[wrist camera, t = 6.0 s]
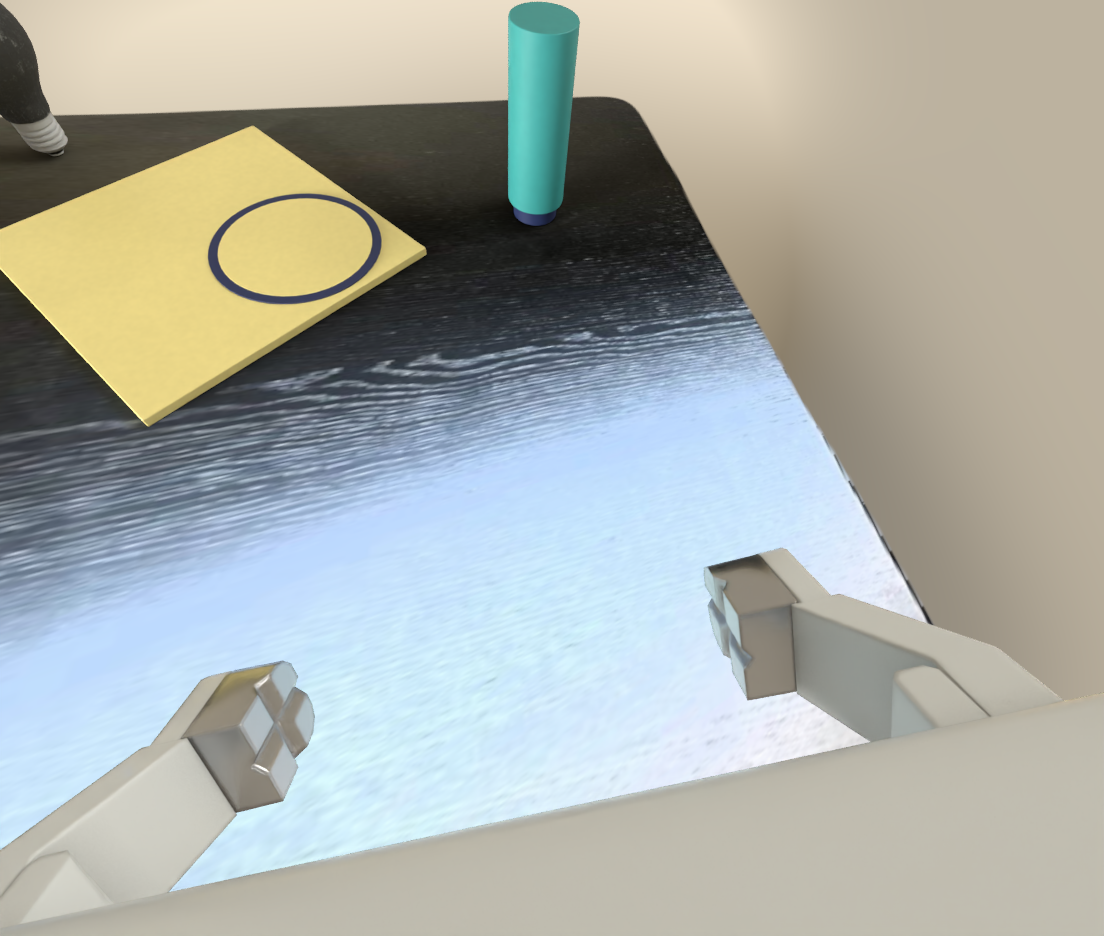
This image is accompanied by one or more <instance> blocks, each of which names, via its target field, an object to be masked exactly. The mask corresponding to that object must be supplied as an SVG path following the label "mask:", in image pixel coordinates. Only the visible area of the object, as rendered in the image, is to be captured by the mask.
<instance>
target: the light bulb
mask: <svg viewBox="0 0 1104 936" xmlns="http://www.w3.org/2000/svg"><path fill="white" fill-rule="evenodd" d="M0 115H1V116H2V117H4V118H5V119H6V120H8V121H9V122H10V123H11V124H12V125H13V126H14V127H15V128H16V129H17V131H18V133H19V134H20V135H21V137H22V138H23V139H24V140H25V142H26V143H27V144H28V145H29V146H30V147H31V148H32V149H34V150H36V151H39V152H43V153H49V155H51V156H59V155H61V154H63V152H64V150H63V148H64V147H65V145H66V144H67V137H66V136H65V135H64V131H63V129H62V128H61V127H60V125H59V124H58V123H57V121H56V119H55V118H54V117H53V115H52V113H51V112H50V108H49V105H48V103H47V101H46V99H45V97H44V95H43V93H42V89H41V85H40V82H39V73H38V64H37V59H36V54H35V51H34V49H33V46H32V43H31V41H30V39H29V38H28V35H27V33H26V32H25V30H24V29H23V27H22V26H21V25H20V23H19V22H18V21H17V19H16V18H15V17H14V16H13V15H12V14H11V13H10V12H9V11H8V10H7V9H6V8H5V7H4V6H3V5H2V4H1V3H0Z"/></svg>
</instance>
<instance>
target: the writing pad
mask: <svg viewBox="0 0 1104 936" xmlns="http://www.w3.org/2000/svg"><path fill="white" fill-rule="evenodd" d="M425 255H426V248H425V247H424V246H422V245H421V244H419V243H418V242H417V241H415V240H414V239H412V238H411V237H409V236H408V235H407V234H405V233H404V232H402V231H401V230H400V229H398V228H397V227H395V226H394V225H393V224H391V223H390V222H388V221H387V220H385V219H384V218H383V217H381V216H380V215H378V214H377V213H376V212H374V211H373V210H371V209H370V208H368V207H367V206H366V205H364V204H363V203H361V202H360V201H359V200H357V199H356V198H354V197H353V196H352V195H350V194H349V193H347V192H346V191H344V190H343V189H342V188H340V187H339V186H337V185H336V184H335V183H333V182H332V181H330V180H329V179H328V178H326V177H325V176H323V175H322V174H320V173H319V172H318V171H316V170H315V169H313V168H312V167H311V166H309V165H308V164H306V163H305V162H304V161H302V160H301V159H299V158H298V157H296V156H295V155H294V154H292V153H291V152H289V151H288V150H287V149H285V148H284V147H282V146H281V145H280V144H278V143H277V142H275V141H274V140H272V139H271V138H270V137H268V136H267V135H265V134H264V133H263V132H261V131H260V130H258V129H257V128H256V127H254V126H251V127H248V128H246V129H243V130H241V131H239V132H236V133H234V134H231V135H229V136H226V137H224V138H222V139H219V140H217V141H214V142H212V143H209V144H207V145H205V146H202V147H200V148H197V149H195V150H192V151H190V152H187V153H185V154H183V155H180V156H178V157H175V158H173V159H170V160H168V161H166V162H163V163H161V164H158V165H156V166H153V167H151V168H149V169H146V170H144V171H141V172H139V173H136V174H134V175H132V176H129V177H127V178H124V179H122V180H119V181H117V182H115V183H112V184H110V185H107V186H105V187H102V188H100V189H98V190H95V191H93V192H90V193H88V194H85V195H83V196H81V197H78V198H76V199H73V200H71V201H68V202H66V203H64V204H61V205H59V206H56V207H54V208H51V209H49V210H47V211H44V212H42V213H39V214H37V215H34V216H32V217H30V218H27V219H25V220H22V221H20V222H17V223H15V224H13V225H10V226H8V227H5V228H3V229H0V269H1V270H2V271H3V272H4V273H5V275H6V276H7V277H8V278H9V279H10V280H11V281H12V282H13V283H14V284H15V285H16V286H17V287H18V288H19V290H20V291H21V292H22V293H23V294H24V295H25V296H26V297H27V298H28V299H29V300H30V301H31V302H32V303H33V304H34V306H35V307H36V308H37V309H38V310H39V311H40V312H41V313H42V314H43V315H44V316H45V317H46V318H47V319H48V321H49V322H50V323H51V324H52V325H53V326H54V327H55V328H56V329H57V330H58V331H59V332H60V333H61V334H62V336H63V337H64V338H65V339H66V340H67V341H68V342H69V343H70V344H71V345H72V346H73V347H74V348H75V349H76V351H77V352H78V353H79V354H80V355H81V356H82V357H83V358H84V359H85V360H86V361H87V362H88V363H89V364H90V366H91V367H92V368H93V369H94V370H95V371H96V372H97V373H98V374H99V375H100V376H101V377H102V378H103V379H104V381H105V382H106V383H107V384H108V385H109V386H110V387H111V388H112V389H113V390H114V391H115V392H116V393H117V394H118V395H119V397H120V398H121V399H122V400H123V401H124V402H125V403H126V404H127V405H128V406H129V407H130V408H131V409H132V410H133V412H134V413H135V414H136V415H137V416H138V417H139V418H140V419H141V420H142V421H143V422H144V423H145V424H146V425H147V426H151V425H152V424H154V423H155V422H157V421H159V420H160V419H162V418H164V417H165V416H167V415H168V414H170V413H172V412H173V411H175V410H176V409H178V408H180V407H181V406H183V405H185V404H186V403H188V402H189V401H191V400H193V399H194V398H196V397H197V396H199V395H201V394H202V393H204V392H206V391H207V390H209V389H210V388H212V387H214V386H215V385H217V384H218V383H220V382H222V381H223V380H225V379H227V378H228V377H230V376H231V375H233V374H235V373H236V372H238V371H239V370H241V369H243V368H244V367H246V366H248V365H249V364H251V363H252V362H254V361H256V360H257V359H259V358H260V357H262V356H264V355H265V354H267V353H269V352H270V351H272V350H273V349H275V348H277V347H278V346H280V345H281V344H283V343H285V342H286V341H288V340H290V339H291V338H293V337H294V336H296V335H298V334H299V333H301V332H302V331H304V330H306V329H307V328H309V327H311V326H312V325H314V324H315V323H317V322H319V321H320V320H322V319H324V318H325V317H327V316H328V315H330V314H332V313H333V312H335V311H336V310H338V309H340V308H341V307H343V306H345V305H346V304H348V303H349V302H351V301H353V300H354V299H356V298H357V297H359V296H361V295H362V294H364V293H366V292H367V291H369V290H370V289H372V288H374V287H375V286H377V285H378V284H380V283H382V282H383V281H385V280H387V279H388V278H390V277H391V276H393V275H395V274H396V273H398V272H399V271H401V270H403V269H404V268H406V267H408V266H409V265H411V264H412V263H414V262H416V261H417V260H419V259H420V258H422V257H424V256H425Z"/></svg>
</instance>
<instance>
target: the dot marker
mask: <svg viewBox="0 0 1104 936" xmlns="http://www.w3.org/2000/svg"><path fill="white" fill-rule="evenodd" d="M579 24H580V21H579V18H578V16H577V15H576V14H575V13H574V12H573V11H571V10H570V9H568V8H566V7H563V6H561V5H557V4H553V3H547V2H529V3H523V4H520V5H517V6H515V7H514V8H512V9H511V11H510V13H509V16H508V33H509V34H508V38H509V39H508V40H509V42H508V45H509V47H508V49H509V50H508V62H509V63H508V66H509V67H508V95H509V96H508V197H509V201H510V202H511V204H512V205H513V206H514V215H515V216H516V218H517V219H518V220H519V221H521V222H523V223H525V224H528V225H533V226H540V225H545V224H548V223H550V222H551V221H552V220H553V219H554V218H555V216H556V209H557V208H559V206H560V205H561V203H562V200H563V190H564V180H565V169H566V159H567V149H568V138H569V128H570V118H571V107H572V97H573V86H574V76H575V66H576V55H577V44H578V35H579Z"/></svg>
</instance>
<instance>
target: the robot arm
mask: <svg viewBox="0 0 1104 936" xmlns="http://www.w3.org/2000/svg"><path fill="white" fill-rule="evenodd" d="M704 581H705V586H706V588H707V590H708V592H709V593H710V595H711V597H712V599H711V601H710V602H709V604H708V610H709V616H710V621H711V625H712V628H713V632H714V635H715V638H716V640H717V643H718V645H719V647H720V649H721V651H722V653H723V655H725V656H727V657H729V658H730V659H731V664H732V671H733V674H734V676H735V678H736V680H737V681H738V683H739V685H740V687H741V689H742V691H743V693H744V694H745V696H746V698H747V700H753V699H758V698H764V697H769V696H774V695H780V694H785V693H790V692H796V691H797V694H798V695H800V696H801V697H803V698H804V699H806V700H808V701H809V702H811V703H812V704H814V705H815V706H817V707H818V708H820V709H821V710H823V711H824V712H826V713H827V714H829V715H830V716H832V717H834V718H835V719H837V720H838V721H840V722H841V723H843V724H844V725H846V726H847V727H849V728H850V729H852V730H853V731H855V732H856V733H858V734H860V735H861V736H863V737H864V738H866V739H867V740H869V741H870V742H869V743H865V744H860V745H855V746H851V747H846V748H841V749H837V750H832V751H827V752H822V753H818V754H813V755H808V756H804V757H799V758H794V759H790V760H785V761H781V762H776V763H771V764H767V765H762V766H758V767H753V768H749V769H744V770H739V771H735V772H730V773H726V774H721V775H716V776H712V777H707V778H702V779H698V780H693V781H688V782H683V783H679V784H674V785H669V786H664V787H660V788H655V789H650V790H646V791H641V792H636V793H631V794H627V795H622V796H617V797H612V798H608V799H603V800H598V801H593V802H589V803H584V804H579V805H575V806H570V807H565V808H560V809H556V810H551V811H546V812H541V813H537V814H532V815H527V816H523V817H518V818H513V819H509V820H504V821H499V822H495V823H490V824H485V825H481V826H476V827H471V828H467V829H462V830H457V831H453V832H448V833H443V834H439V835H434V836H429V837H425V838H420V839H415V840H411V841H406V842H401V843H397V844H392V845H387V846H383V847H378V848H373V849H369V850H364V851H360V852H355V853H350V854H346V855H341V856H336V857H332V858H327V859H322V860H318V861H313V862H308V863H304V864H299V865H294V866H289V867H285V868H280V869H275V870H271V871H266V872H261V873H257V874H252V875H247V876H243V877H238V878H233V879H229V880H224V881H219V882H215V883H210V884H205V885H201V886H196V887H191V888H187V889H182V890H177V891H172V892H169V891H170V890H171V889H172V888H173V886H174V885H175V884H176V883H177V882H178V881H179V880H180V879H181V877H182V876H183V875H184V874H185V873H186V872H187V871H188V869H189V868H190V867H191V866H192V865H193V864H194V863H195V862H196V860H197V859H198V858H199V857H200V856H201V855H202V854H203V853H204V851H205V850H206V849H207V848H208V847H209V846H210V845H211V844H212V842H213V841H214V840H215V839H216V838H217V837H218V836H219V835H220V833H221V832H222V831H223V830H224V829H225V828H226V827H227V826H228V824H229V823H230V822H231V821H232V820H233V819H234V818H235V817H236V815H237V814H236V813H237V812H241V811H245V810H249V809H253V808H257V807H261V806H265V805H269V804H273V803H277V802H281V801H283V800H284V798H285V796H286V794H287V791H288V789H289V787H290V785H291V782H292V780H293V778H294V776H295V773H296V771H297V769H298V765H297V763H296V760H295V758H296V757H297V756H298V755H299V754H300V753H301V752H302V751H303V750H304V749H305V748H306V747H307V746H308V744H309V741H310V739H311V736H312V734H313V729H314V718H315V715H314V711H313V706H312V703H311V701H310V699H309V697H308V695H307V694H306V693H305V692H303V691H301V690H299V689H298V688H296V687H295V685H296V682H297V678H298V675H297V674H296V672H295V670H294V668H293V667H292V665H291V663H288V662H285V661H279V662H274V663H269V664H264V665H259V666H254V667H249V668H244V669H239V670H234V671H229V672H225V673H220V674H216V675H211V676H209V677H206V678H204V679H202V680H201V681H200V682H199V683H198V685H197V686H196V687H195V688H194V690H193V691H192V692H191V694H190V695H189V696H188V697H187V699H186V700H185V701H184V703H183V704H182V705H181V706H180V708H179V709H178V710H177V712H176V713H175V714H174V715H173V717H172V718H171V719H170V721H169V722H168V723H167V724H166V726H165V727H164V728H163V730H162V731H161V732H160V734H159V735H158V736H157V737H156V739H155V740H154V741H153V743H152V744H151V745H150V746H148V747H144V748H141V749H139V750H138V751H137V752H135V753H134V754H132V755H131V756H130V757H128V758H127V759H126V760H124V761H123V762H121V763H120V764H119V765H117V766H116V767H114V768H113V769H112V770H110V771H109V772H108V773H106V774H105V775H103V776H102V777H101V778H99V779H98V780H97V781H95V782H94V783H92V784H91V785H90V786H88V787H87V788H85V789H84V790H83V791H81V792H80V793H79V794H77V795H76V796H74V797H73V798H72V799H70V800H69V801H68V802H66V803H65V804H63V805H62V806H61V807H59V808H58V809H56V810H55V811H54V812H52V813H51V814H50V815H48V816H47V817H45V818H44V819H43V820H41V821H40V822H39V823H37V824H36V825H34V826H33V827H32V828H30V829H29V830H27V831H26V832H25V833H23V834H22V835H21V836H19V837H18V838H16V839H15V840H14V841H12V842H11V843H10V844H8V845H7V846H5V847H4V848H3V849H1V850H0V936H1104V692H1103V693H1099V694H1094V695H1089V696H1085V697H1080V698H1076V699H1071V700H1066V701H1064V700H1063V699H1061V698H1060V697H1059V696H1058V695H1056V694H1055V693H1054V692H1053V691H1051V690H1050V689H1049V688H1048V687H1046V686H1045V685H1044V684H1042V683H1041V682H1040V681H1039V680H1037V679H1036V678H1035V677H1034V676H1033V675H1031V674H1030V673H1029V672H1028V671H1026V670H1025V669H1024V668H1023V667H1021V666H1020V665H1019V664H1017V663H1016V662H1015V661H1014V660H1013V659H1011V658H1010V657H1009V656H1008V655H1006V654H1005V653H1004V652H1003V651H1001V650H1000V649H999V648H998V647H995V646H992V645H989V644H986V643H983V642H980V641H977V640H974V639H971V638H968V637H966V636H963V635H960V634H956V633H954V632H951V631H948V630H945V629H942V628H939V627H936V626H933V625H930V624H927V623H924V622H921V621H918V620H915V619H912V618H909V617H906V616H903V615H900V614H897V613H895V612H892V611H889V610H886V609H883V608H880V607H877V606H874V605H871V604H868V603H865V602H862V601H859V600H856V599H853V598H850V597H847V596H844V595H841V594H837V595H832V596H831V595H830V594H829V593H828V592H827V591H826V590H825V589H824V588H823V587H822V585H821V584H820V583H819V582H818V581H817V580H816V579H815V578H814V577H813V576H812V575H811V574H810V573H809V572H808V571H807V570H806V569H805V568H804V567H803V566H802V565H801V564H800V563H799V562H798V561H797V560H796V558H795V557H794V556H793V555H792V554H791V553H790V552H789V551H788V550H787V549H784V548H778V549H774V550H770V551H767V552H763V553H759V554H756V555H753V556H749V557H745V558H741V559H737V560H732V561H728V562H724V563H720V564H716V565H711V566H707V567H704Z"/></svg>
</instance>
